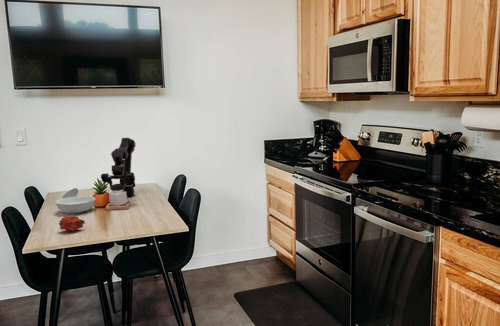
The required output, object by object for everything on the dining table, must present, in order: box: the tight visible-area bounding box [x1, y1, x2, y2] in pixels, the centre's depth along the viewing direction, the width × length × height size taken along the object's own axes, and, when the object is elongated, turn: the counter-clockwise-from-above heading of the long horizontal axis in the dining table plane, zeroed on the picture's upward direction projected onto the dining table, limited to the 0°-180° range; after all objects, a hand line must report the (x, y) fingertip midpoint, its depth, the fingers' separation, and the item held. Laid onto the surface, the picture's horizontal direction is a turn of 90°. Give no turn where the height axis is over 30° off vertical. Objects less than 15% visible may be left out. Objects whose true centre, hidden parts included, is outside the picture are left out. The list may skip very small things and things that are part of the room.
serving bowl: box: [55, 195, 96, 214], centre depth 244 cm, size 21×21×7 cm
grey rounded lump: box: [61, 187, 79, 199], centre depth 267 cm, size 11×10×10 cm
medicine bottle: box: [108, 183, 128, 206], centre depth 249 cm, size 7×7×12 cm
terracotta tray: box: [105, 200, 132, 212], centre depth 250 cm, size 12×12×2 cm
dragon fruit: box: [58, 215, 86, 233], centre depth 206 cm, size 8×8×12 cm
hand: (116, 189), depth 247 cm, fingers closed on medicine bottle, 6 cm apart
